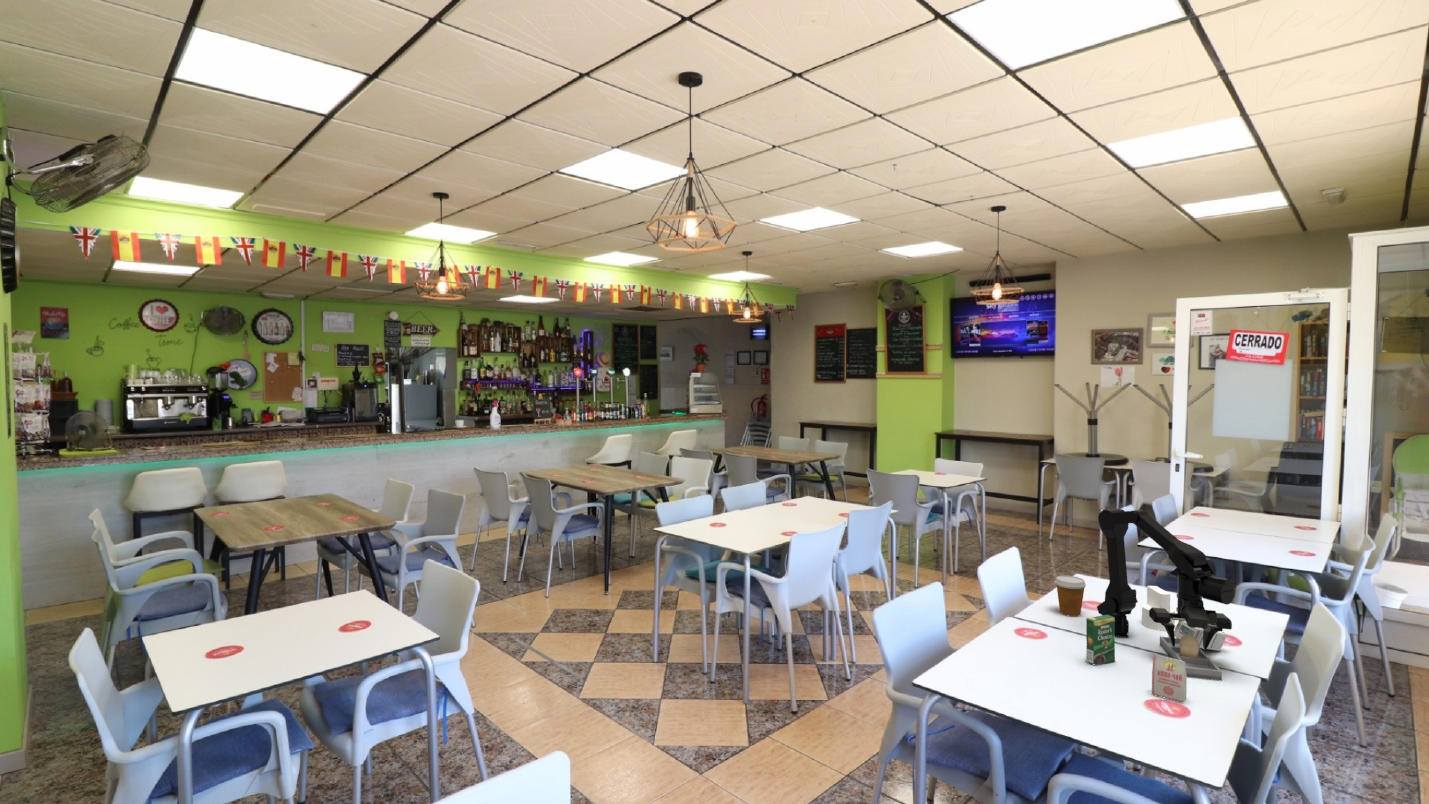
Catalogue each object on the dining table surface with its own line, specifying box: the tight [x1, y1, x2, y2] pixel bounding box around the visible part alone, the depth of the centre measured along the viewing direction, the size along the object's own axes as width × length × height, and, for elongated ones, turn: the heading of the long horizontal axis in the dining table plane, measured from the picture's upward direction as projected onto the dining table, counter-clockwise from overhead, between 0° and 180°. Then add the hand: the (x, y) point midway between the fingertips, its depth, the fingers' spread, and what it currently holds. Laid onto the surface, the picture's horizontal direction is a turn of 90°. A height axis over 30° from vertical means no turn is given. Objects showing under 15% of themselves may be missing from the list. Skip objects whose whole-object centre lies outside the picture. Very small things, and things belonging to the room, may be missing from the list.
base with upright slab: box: [1141, 585, 1176, 632], centre depth 221 cm, size 9×9×12 cm
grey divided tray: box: [1159, 635, 1223, 681], centre depth 193 cm, size 8×23×2 cm, turn 161°
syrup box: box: [1174, 620, 1228, 652], centre depth 200 cm, size 6×6×14 cm
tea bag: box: [1151, 653, 1188, 703], centre depth 172 cm, size 4×7×10 cm, turn 45°
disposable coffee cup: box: [1054, 575, 1087, 617], centre depth 233 cm, size 10×10×12 cm
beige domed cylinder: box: [1180, 635, 1199, 658], centre depth 193 cm, size 4×4×7 cm
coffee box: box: [1085, 614, 1116, 665], centre depth 193 cm, size 8×3×13 cm, turn 107°
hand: (1189, 647), depth 193 cm, fingers open, 7 cm apart
